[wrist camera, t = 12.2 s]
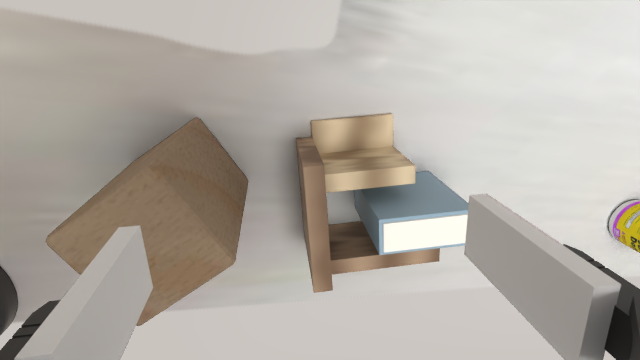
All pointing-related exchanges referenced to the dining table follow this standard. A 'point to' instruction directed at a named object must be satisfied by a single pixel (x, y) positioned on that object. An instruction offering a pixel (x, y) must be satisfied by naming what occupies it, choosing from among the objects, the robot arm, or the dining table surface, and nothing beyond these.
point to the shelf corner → (338, 230)
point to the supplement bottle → (627, 224)
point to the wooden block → (166, 215)
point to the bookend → (360, 153)
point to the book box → (413, 215)
